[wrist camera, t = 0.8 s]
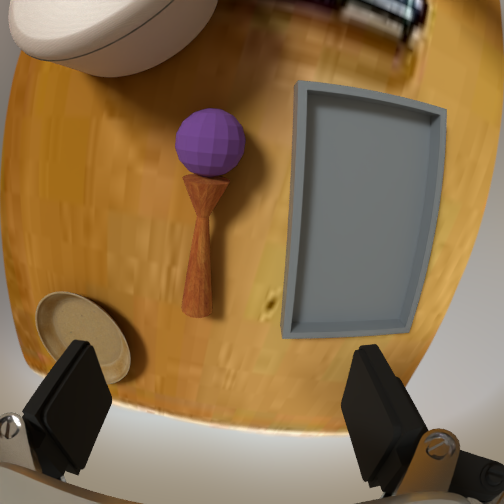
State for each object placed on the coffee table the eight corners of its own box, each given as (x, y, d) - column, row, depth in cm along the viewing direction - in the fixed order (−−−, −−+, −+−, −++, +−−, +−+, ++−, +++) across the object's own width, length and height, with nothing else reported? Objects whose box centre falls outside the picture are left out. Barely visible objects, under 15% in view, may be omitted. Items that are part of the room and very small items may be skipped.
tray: (293, 85, 25) (298, 80, 23) (433, 110, 25) (446, 109, 23) (280, 325, 34) (282, 338, 32) (400, 321, 34) (409, 332, 32)
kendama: (160, 316, 29) (167, 105, 21) (181, 288, 35) (194, 108, 26) (215, 332, 28) (241, 110, 20) (230, 300, 34) (255, 114, 26)
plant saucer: (82, 378, 38) (76, 389, 36) (28, 299, 33) (19, 308, 31) (156, 363, 36) (152, 376, 34) (97, 267, 32) (87, 276, 29)
